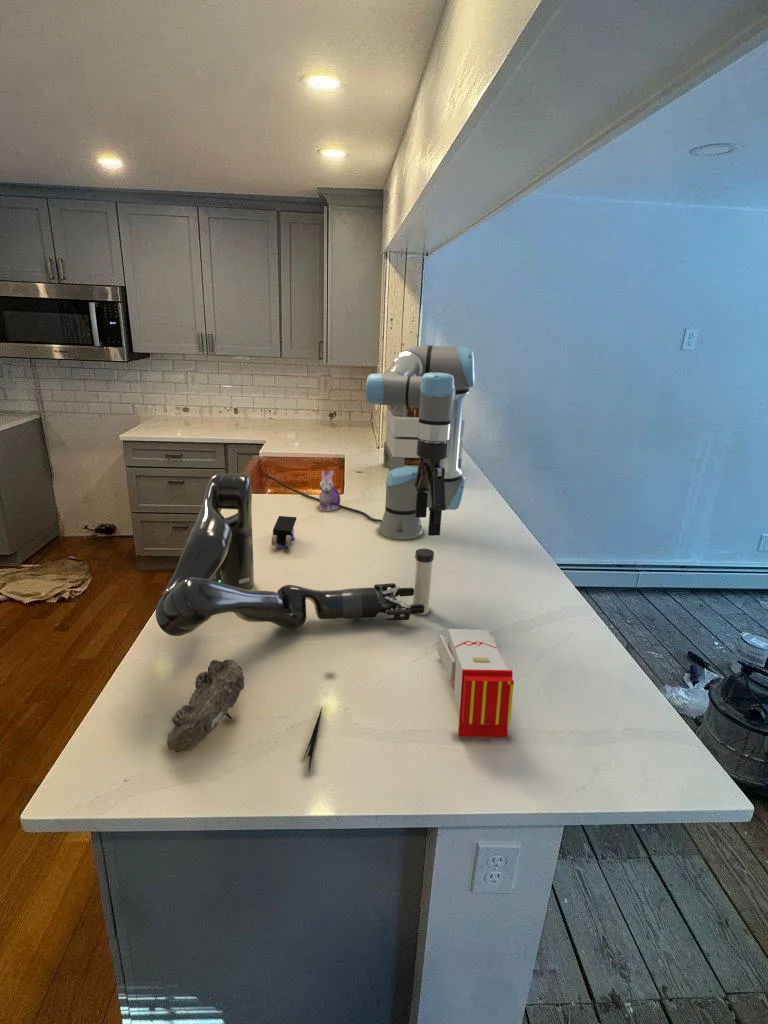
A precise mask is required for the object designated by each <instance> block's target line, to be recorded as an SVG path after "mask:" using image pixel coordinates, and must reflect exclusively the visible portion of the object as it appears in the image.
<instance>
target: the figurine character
mask: <svg viewBox="0 0 768 1024" xmlns="http://www.w3.org/2000/svg"><path fill="white" fill-rule="evenodd" d="M296 522H297V516H287V515H286V516H285V515H279V516H278V517H277V520H276V521H275V524H274V526H273V529H272V536H271V543H270V544H271V547H272V546H273V547H276V548H275V549H276V550H277V551H279V549H280V547H285V548H284V551H287V550H288V549H289V547H290V546H292V542H293V541H294V540H295V529H294V527H295V524H296Z"/></svg>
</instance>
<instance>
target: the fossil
mask: <svg viewBox="0 0 768 1024" xmlns="http://www.w3.org/2000/svg"><path fill="white" fill-rule="evenodd" d="M243 670H244V669H243V667H242V665H240V664H237V662H236V661H235V660H234V659H232V658H231V659H227V658H226V659H224V660H223V661H222V660H217V659H212V660H211V661H210V663H209V665H208V666H207V671H201V672H199V673H198V674H197V675H196V676H195V680H194V684H195V685H194V687H195V689H194V690H193V693H192V694H191V697H190V698H189V700H188V704H184V705H182V706H181V707H180V709H177V710H176V711H175V713H174V715H173V716H172V718H171V723H172V724H173V727H172V730H171V731H170V732H168V734H167V738H166V741H167V742H166V745H167V749H168V750H169V751H173V752H174V753H176V754H178V753H182V752H188V751H189V752H192V751H193V750H195V748H196V747H197V746H199V744H200V743H201V742H203V741H204V740H205V739H206V738H207V737H208V736H209V735H210V734H211V733H212V732H214V730H215V729H217V727H218V726H219V724H220V722H221V721H222V720H223V719H224V718H225V716H226V717H227V719H229V720H233V717H232V715H230V714H229V710H230V709H231V708H234V706H235V704H236V703H237V702H238V699H239V697H240V695H241V693H242V691H243V690H245V689H244V688H245V675H244V671H243Z"/></svg>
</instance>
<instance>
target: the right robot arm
mask: <svg viewBox="0 0 768 1024" xmlns="http://www.w3.org/2000/svg"><path fill="white" fill-rule="evenodd" d="M474 356H475V355H474V351H473V350H472V349H471V348H469V347H464V346H459V345H458V346H455V345H429V344H424V345H423V344H422V345H415V346H412V347H409V348H406V349H404V350H402V351H400V352H399V353H398V354H396V355H395V356H394V358H393V359H392V362H391V364H390V365H391V366H390V367H389V368H388V369H387V370H386V371H385V372H384V373H380V372H378V373H370V374H369V375H367V379H366V383H365V399H366V401H367V402H368V403H369V404H371V405H379V406H387V405H394V406H409V407H420V414H419V421H418V436H417V437H418V438H419V439H420V440H418V441H417V455H418V456H419V465H418V466H404V467H400V468H396V469H393V470H391V471H390V470H389V472H388V473H387V475H386V482H385V504H384V505H385V507H384V508H385V509H384V513H383V515H382V519H379V518H374V517H371V516H370V515H368V514H367V513H366V512H364V511H363V510H362V511H361V510H359V509H356V508H351V507H348V506H345V505H341V504H340V506H339V508H341V509H343V510H348V511H351V512H355V513H357V514H361V515H363V516H364V517H366V518H367V519H368V520H370V521H372V522H375V523H376V522H377V523H379V527H378V533H379V534H380V535H381V536H382V537H385V538H387V539H389V540H395V541H410V540H415V539H418V538H420V537H421V536H422V535H423V525H422V521H421V518H427V512H429V514H428V515H429V516H428V530H427V535H428V536H429V537H431V536H440V535H441V525H442V513H443V511H447V510H450V511H456V510H457V509H459V508H460V505H461V501H462V498H463V493H464V488H465V484H466V477H465V476H463V474H462V469H461V470H460V469H459V468H458V457H459V446H460V439H461V438H460V434H461V422H462V419H463V410H464V409H463V408H464V399H465V397H466V396H467V395H468V394H469V392H470V388H473V387H475V358H474ZM260 477H261V478H262V477H266V478H268V479H270V480H273V481H274V482H276V483H277V484H279V485H281V486H283V487H284V488H286V489H288V490H290V491H291V492H294V493H297V494H298V495H301V496H303V497H306V498H309V499H311V500H314V501H317V502H320V501H319V498H318V497H316V496H312V495H309V494H307V493H304V492H302V491H299V490H297V489H295V488H292V487H290V486H289V485H287V484H285V483H283V482H281V481H280V480H278V479H276V478H275V477H272V475H271V476H270V475H269V474H266V473H262V474H261V475H260ZM427 508H428V509H427Z"/></svg>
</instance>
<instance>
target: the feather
mask: <svg viewBox="0 0 768 1024" xmlns="http://www.w3.org/2000/svg"><path fill="white" fill-rule="evenodd" d="M329 675H330V676H331V675H332V674H331V673H330V674H329ZM322 710H323V707H321V708H320V710H319V713H318V716H317V719H316V723H315V725H314V728H313V731H312V733H311V737H310V739H309V742H308V745H307V748H306V751H305V754H304V757H303V760H302V763H301V767H302V765H303V763H304V761H305V758H308V759H309V760H308V762H307V763H308V764H307V766H308V771H310V770H311V766H312V765H311V764H312V760H313V757H315V756H314V755H315V751H316V749H315V746H317V739H318V733H319V729H320V722H321V717H322V712H323V711H322ZM313 754H314V755H313ZM306 755H307V757H306Z"/></svg>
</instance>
